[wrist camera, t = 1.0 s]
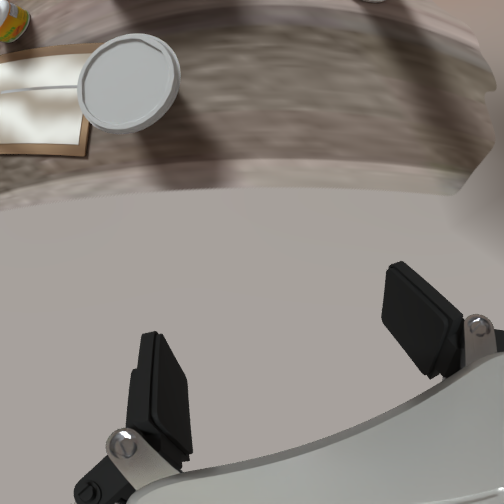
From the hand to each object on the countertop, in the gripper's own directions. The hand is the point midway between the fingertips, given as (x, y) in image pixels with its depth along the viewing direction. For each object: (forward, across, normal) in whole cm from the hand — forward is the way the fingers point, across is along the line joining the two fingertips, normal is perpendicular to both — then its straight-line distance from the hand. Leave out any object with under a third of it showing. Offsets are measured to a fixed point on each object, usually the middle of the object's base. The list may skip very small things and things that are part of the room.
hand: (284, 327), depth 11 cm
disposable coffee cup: (+28, +6, -13) cm, 32 cm away
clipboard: (+28, +22, -19) cm, 40 cm away
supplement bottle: (+28, +24, -32) cm, 49 cm away
